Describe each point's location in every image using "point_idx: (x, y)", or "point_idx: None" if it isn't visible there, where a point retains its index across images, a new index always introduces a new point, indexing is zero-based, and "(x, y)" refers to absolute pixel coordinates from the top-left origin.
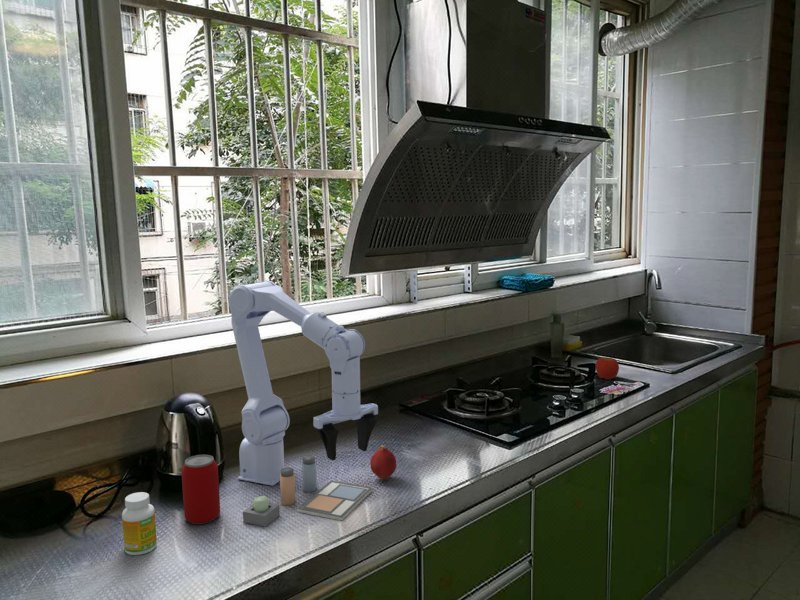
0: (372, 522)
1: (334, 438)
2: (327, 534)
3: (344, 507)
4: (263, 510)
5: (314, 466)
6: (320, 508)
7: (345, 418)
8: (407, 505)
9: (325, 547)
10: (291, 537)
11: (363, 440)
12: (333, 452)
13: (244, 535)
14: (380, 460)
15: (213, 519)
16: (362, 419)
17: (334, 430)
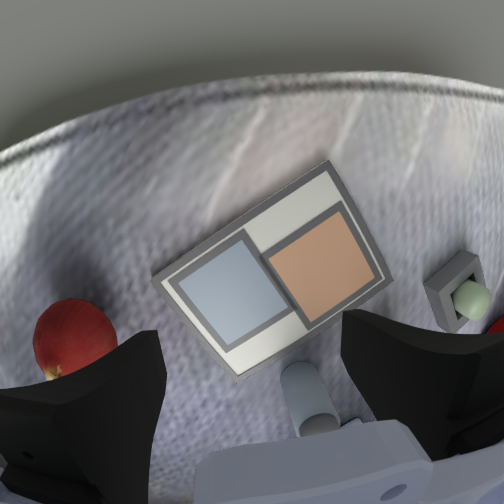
0: (257, 98)
1: (436, 344)
2: (385, 123)
3: (290, 211)
4: (470, 281)
5: (309, 408)
6: (350, 244)
7: (453, 470)
8: (113, 132)
9: (408, 81)
10: (446, 170)
11: (142, 369)
12: (381, 316)
13: (491, 240)
14: (82, 335)
15: (491, 326)
16: (107, 486)
17: (497, 356)
